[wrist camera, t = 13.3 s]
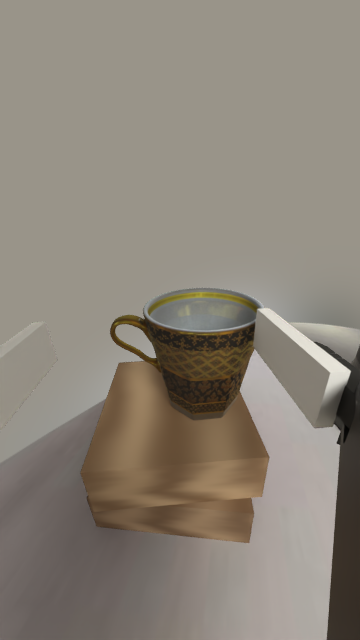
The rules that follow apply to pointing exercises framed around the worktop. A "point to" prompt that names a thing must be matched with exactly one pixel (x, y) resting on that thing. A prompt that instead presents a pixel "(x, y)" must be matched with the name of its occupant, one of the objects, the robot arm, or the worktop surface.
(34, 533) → the worktop surface
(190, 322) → the ceramic cup
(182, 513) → the tower bottom block
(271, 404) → the worktop surface
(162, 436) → the tower top block
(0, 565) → the worktop surface
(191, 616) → the worktop surface
